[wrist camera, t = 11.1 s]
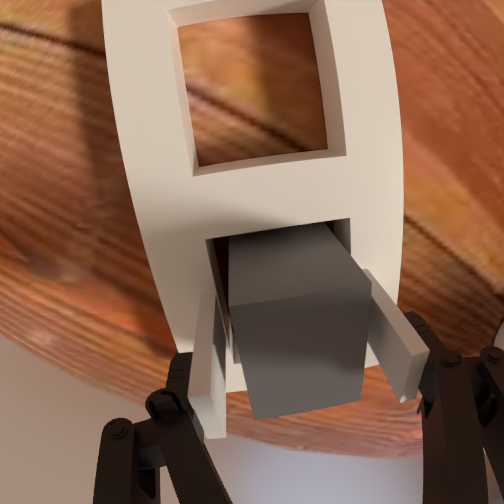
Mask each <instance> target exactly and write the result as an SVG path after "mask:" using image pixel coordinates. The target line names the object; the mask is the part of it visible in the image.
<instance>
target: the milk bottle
mask: <svg viewBox="0 0 504 504" xmlns="http://www.w3.org/2000/svg"><path fill="white" fill-rule="evenodd" d="M494 346H495V347H499V348H501V349H502V350H503V351H504V321H503V323H502V325H501V326H500V328H499V330H498V332H497V335H496V337H495V341H494Z"/></svg>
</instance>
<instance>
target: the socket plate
mask: <svg viewBox="0 0 504 504" xmlns="http://www.w3.org/2000/svg"><path fill="white" fill-rule="evenodd" d="M280 13H308V14H309V19H310V25H311V30H312V36H313V41H314V47H315V53H316V59H317V66H318V72H319V79H320V86H321V93H322V101H323V109H324V117H325V126H326V135H327V144H328V149H327V150H316V151H307V152H298V153H289V154H281V155H273V156H266V157H258V158H251V159H245V160H238V161H232V162H225V163H219V164H213V165H208V166H202V167H199V163H198V158H197V152H196V146H195V141H194V135H193V129H192V123H191V117H190V111H189V105H188V99H187V92H186V86H185V79H184V73H183V66H182V59H181V53H180V46H179V38H178V31H177V27H181V26H186V25H191V24H196V23H202V22H208V21H214V20H220V19H227V18H235V17H243V16H253V15H264V14H280ZM102 16H103V29H104V40H105V49H106V58H107V67H108V75H109V82H110V89H111V96H112V102H113V108H114V114H115V120H116V126H117V131H118V137H119V142H120V147H121V152H122V157H123V162H124V167H125V171H126V176H127V180H128V185H129V189H130V193H131V197H132V202H133V206H134V210H135V214H136V218H137V221H138V225H139V229H140V233H141V236H142V240H143V244H144V247H145V251H146V254H147V258H148V261H149V265H150V268H151V271H152V275H153V278H154V281H155V284H156V288H157V291H158V294H159V297H160V300H161V303H162V306H163V309H164V312H165V315H166V318H167V321H168V324H169V327H170V330H171V333H172V335H173V338H174V341H175V344H176V346H177V349H178V352H179V353H184V352H193V348H194V341H195V333H196V326H197V319H198V312H199V305H200V298H201V295H208V294H215V293H216V296H217V300H218V305H219V309H220V313H221V317H222V322H223V326H224V330H225V334H226V392H235V391H243V390H247V387H246V382H245V378H244V374H243V369H242V365H241V361H240V356H239V352H238V347H237V343H236V338H235V334H233V331H232V326H231V322H230V318H229V313H228V309H227V304H226V299H225V295H224V290H223V285H222V281H221V276H220V271H219V266H218V262H217V257H216V252H215V247H214V242H213V238H217V237H223V236H230V235H236V234H242V233H249V232H255V231H262V230H269V229H275V228H282V227H288V226H295V225H302V224H309V223H316V222H323V221H330V220H333V224H334V235H335V237H336V238H337V239H338V240H339V242H340V243H341V244H342V245H343V246H344V248H345V249H346V250H347V251H348V253H349V254H350V255H351V256H352V258H353V259H354V260H355V261H356V263H357V264H358V265H359V267H360V268H361V269H368V270H369V271H370V273H371V274H372V275H373V276H374V278H375V279H376V280H377V281H378V283H379V284H380V285H381V286H382V288H383V289H384V290H385V291H386V293H387V294H388V295H389V296H390V298H391V299H392V300H393V302H394V303H395V304H396V305H397V299H398V289H399V279H400V267H401V253H402V234H403V154H402V136H401V122H400V110H399V100H398V91H397V83H396V75H395V68H394V62H393V55H392V49H391V44H390V38H389V33H388V28H387V23H386V18H385V14H384V9H383V5H382V1H381V0H102ZM378 364H379V362H378V360H377V358H376V356H375V354H374V353H373V351H372V349H371V347H370V345H369V343H368V341H367V350H366V358H365V367H364V368H366V367H370V366H374V365H378Z"/></svg>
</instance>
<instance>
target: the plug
mask: <svg viewBox="0 0 504 504" xmlns="http://www.w3.org/2000/svg"><path fill="white" fill-rule="evenodd" d="M371 290H372V282H371V281H370V279H369V278H368V277H367V275H366V274H365V273H364V272H363V270H362V269H361V268H360V267H359V265H358V264H357V263H356V261H355V260H354V259H353V258H352V256H351V255H350V254H349V253H348V251H347V250H346V249H345V248H344V246H343V245H342V244H341V243H340V242H339V240H338V239H337V238H336V237H335V235H334V234H333V233H332V232H331V231H330V229H329V228H328V227H327V226H326V225H325V223H318V224H310V225H304V226H297V227H290V228H283V229H276V230H269V231H263V232H256V233H249V234H243V235H236V236H230V237H229V311H230V316H231V320H232V325H233V329H234V334H235V338H236V343H237V347H238V352H239V356H240V361H241V365H242V369H243V374H244V378H245V382H246V387H247V391H248V395H249V399H250V403H251V408H252V412H253V416H254V420H256V419H264V418H271V417H278V416H284V415H290V414H296V413H302V412H307V411H312V410H317V409H322V408H327V407H332V406H336V405H340V404H345V403H349V402H353V401H357V400H360V395H361V388H362V382H363V374H364V367H365V358H366V350H367V340H368V330H369V319H370V306H371Z"/></svg>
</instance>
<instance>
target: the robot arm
mask: <svg viewBox="0 0 504 504" xmlns="http://www.w3.org/2000/svg"><path fill="white" fill-rule="evenodd" d="M362 270H363V272H364V273H365V274H366V275H367V277H368V278H369V279H370V281H371V282H372V290H371V306H370V319H369V330H368V340H367V341H368V343H369V345H370V347H371V349H372V351H373V353H374V354H375V356H376V358H377V360H378V362H379V364H380V366H381V368H382V370H383V371H384V373H385V375H386V377H387V379H388V381H389V383H390V385H391V387H392V389H393V391H394V393H395V395H396V397H397V399H398V401H399V403H401V402H404V401H407V400H410V399H413V398H416V395H417V392H418V389H419V390H420V392H421V394H422V395H423V396H422V399H421V401H420V404H419V407H418V409H417V414H419V413H420V410H421V415H422V432H423V467H424V468H423V504H488V489H487V477H486V467H485V458H484V450H483V447H484V449H485V452H486V454H487V457H488V459H489V462H490V464H491V467H492V469H493V472H494V474H495V477H496V480H497V483H498V486H499V489H500V492H501V494H502V498H503V501H504V351H503V350H502V349H501V348H499V347H495V346H487V347H485V348H484V349H483V350H482V351H481V353H480V356H478V357H463V356H462V355H461V354H460V353H459V352H457V351H454V350H447V349H446V347H445V346H444V345H443V343H442V342H441V341H440V340H439V338H438V337H437V336H436V334H435V333H434V332H433V331H431V328H430V327H429V326H428V325H427V323H426V322H425V321H424V319H423V318H422V317H421V316H419V315H418V314H416V313H414V312H413V311H412V312H408V313H404V314H403V313H402V312H401V311H400V309H399V308H398V307H397V305H396V304H395V303H394V302H393V300H392V299H391V298H390V296H389V295H388V294H387V293H386V291H385V290H384V289H383V288H382V286H381V285H380V284H379V283H378V281H377V280H376V279H375V278H374V276H373V275H372V274H371V273H370V271H369V270H368V269H362ZM167 378H168V379H167V382H166V388H163V389H159V390H157V391H155V392H153V393H152V394H151V395H149V396H148V398H147V400H146V402H145V408H146V409H147V411H148V413H149V414H150V416H151V418H150V419H148V420H145V421H141V422H138V423H134V424H132V422H131V421H130V420H128V419H126V418H117V419H113V420H111V421H110V422H108V423H107V424H106V425H105V426H104V429H103V431H102V436H101V442H100V449H99V456H98V463H97V470H96V478H95V487H94V497H93V504H160V503H161V502H160V467H162V466H166V465H167V468H168V471H169V474H170V477H171V480H172V483H173V486H174V489H175V492H176V495H177V497H178V500H179V503H180V504H233V503H232V501H231V499H230V497H229V495H228V493H227V491H226V489H225V487H224V485H223V483H222V481H221V479H220V477H219V475H218V472H217V470H216V468H215V466H214V464H213V462H212V459H211V457H210V455H209V453H208V451H207V448H206V446H205V444H204V441H203V440H204V434H205V436H206V438H207V439H214V438H226V334H225V330H224V326H223V322H222V317H221V313H220V309H219V305H218V300H217V296H216V293H215V294H208V295H201V298H200V305H199V312H198V319H197V326H196V333H195V341H194V348H193V352H184V353H176V355H175V356H174V358H173V359H172V360H171V362H170V367H169V372H168V377H167Z"/></svg>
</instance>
